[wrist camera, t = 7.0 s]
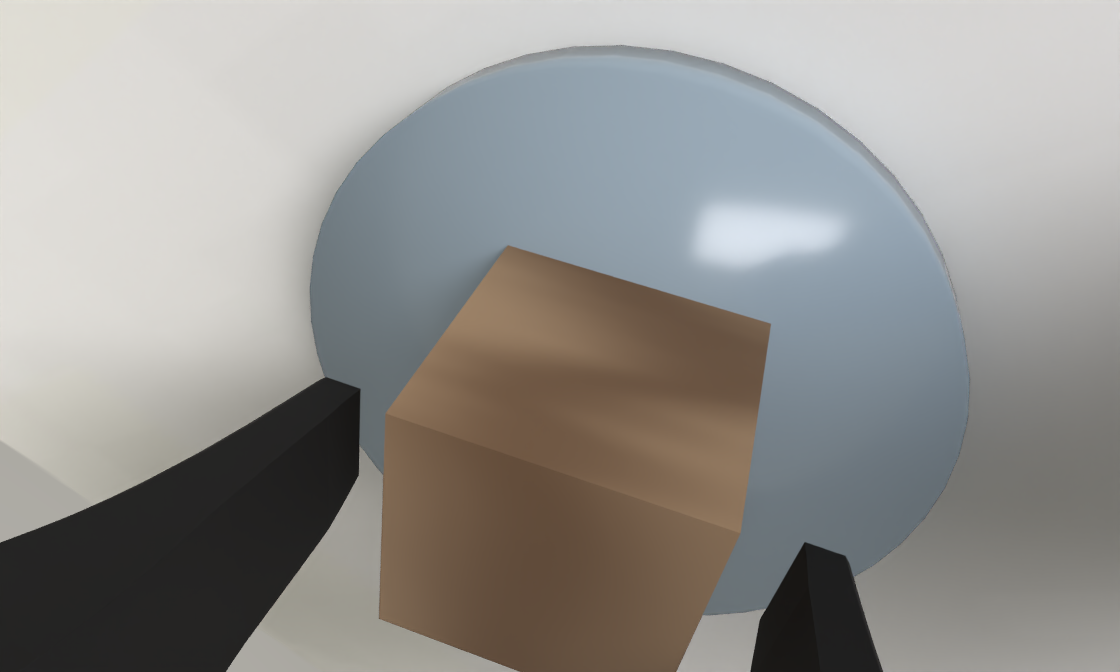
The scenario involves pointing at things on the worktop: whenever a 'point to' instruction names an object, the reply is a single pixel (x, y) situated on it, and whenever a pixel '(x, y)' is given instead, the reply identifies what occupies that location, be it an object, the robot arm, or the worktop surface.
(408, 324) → the slate dish
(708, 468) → the walnut block
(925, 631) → the worktop surface
